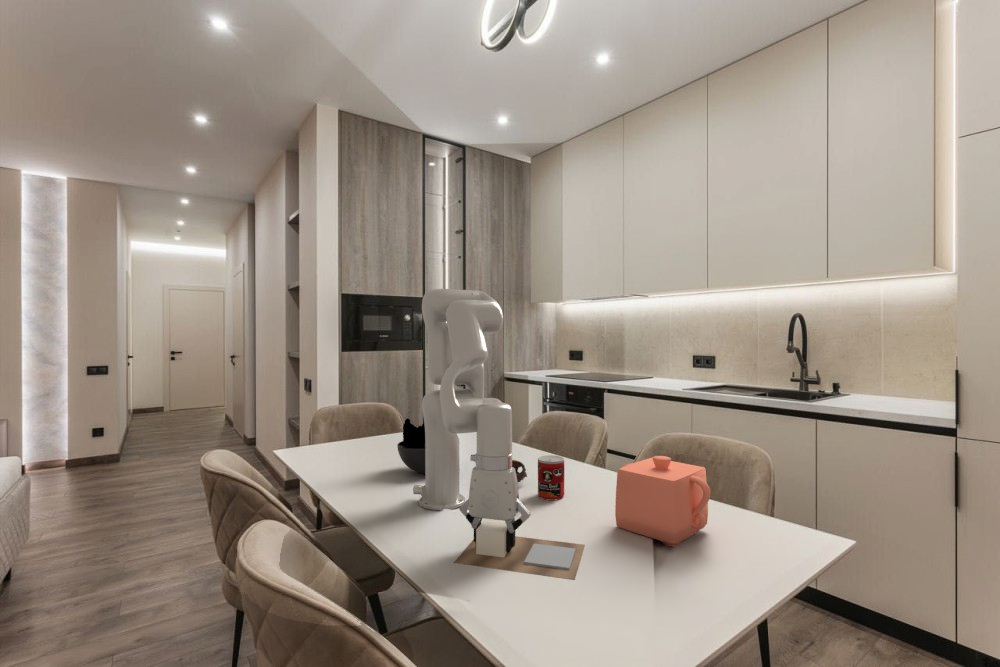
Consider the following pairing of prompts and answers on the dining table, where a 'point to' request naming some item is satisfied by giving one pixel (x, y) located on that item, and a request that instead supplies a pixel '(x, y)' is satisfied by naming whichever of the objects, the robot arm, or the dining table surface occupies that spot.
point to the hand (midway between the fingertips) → (494, 546)
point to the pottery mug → (516, 465)
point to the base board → (522, 558)
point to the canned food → (551, 477)
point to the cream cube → (491, 538)
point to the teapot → (662, 499)
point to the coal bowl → (413, 446)
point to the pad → (550, 556)
